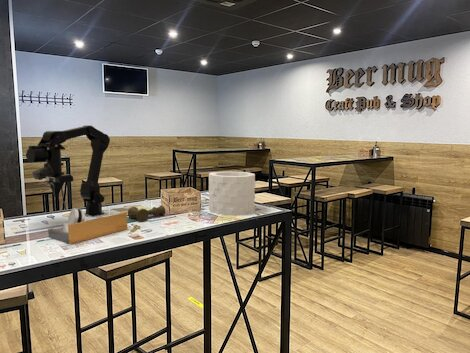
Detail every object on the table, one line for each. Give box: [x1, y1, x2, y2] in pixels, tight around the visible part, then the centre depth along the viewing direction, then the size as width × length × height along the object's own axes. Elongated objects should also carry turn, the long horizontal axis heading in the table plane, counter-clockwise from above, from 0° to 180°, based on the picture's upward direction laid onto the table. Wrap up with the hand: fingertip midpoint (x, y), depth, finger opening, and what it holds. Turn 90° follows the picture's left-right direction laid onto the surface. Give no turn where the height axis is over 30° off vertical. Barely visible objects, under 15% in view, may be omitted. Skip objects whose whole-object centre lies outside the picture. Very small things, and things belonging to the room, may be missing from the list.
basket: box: [208, 170, 256, 216], centre depth 186 cm, size 25×24×19 cm
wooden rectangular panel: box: [48, 211, 128, 245], centre depth 144 cm, size 25×15×7 cm, turn 145°
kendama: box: [127, 205, 166, 223], centre depth 168 cm, size 6×10×20 cm
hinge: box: [62, 208, 86, 233], centre depth 146 cm, size 17×5×10 cm, turn 30°
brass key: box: [129, 225, 141, 233], centre depth 149 cm, size 7×3×1 cm, turn 175°
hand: (56, 196), depth 156 cm, fingers closed
